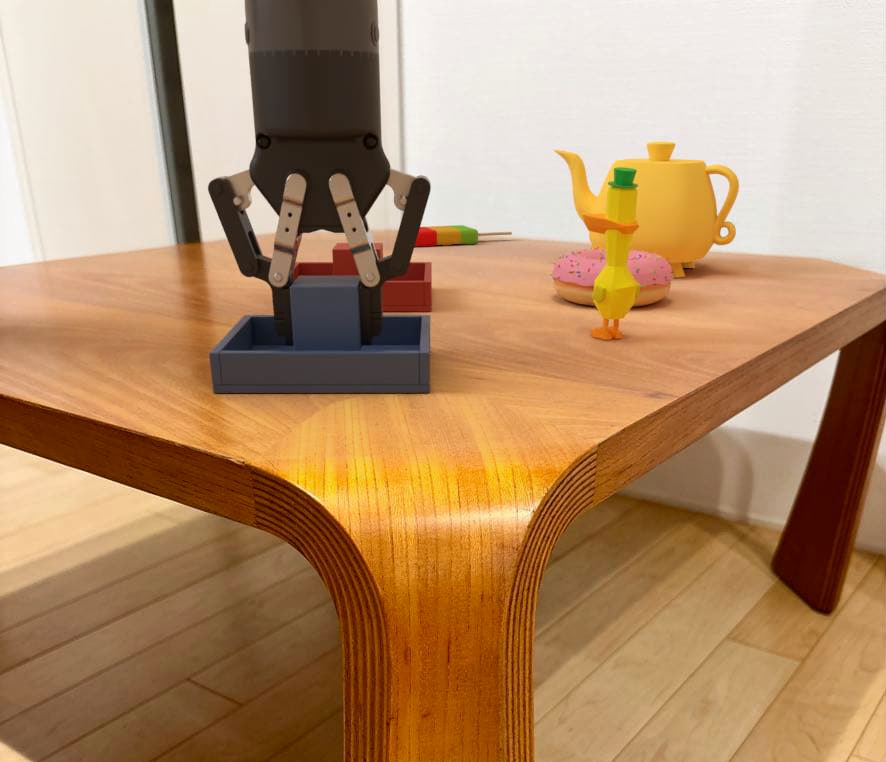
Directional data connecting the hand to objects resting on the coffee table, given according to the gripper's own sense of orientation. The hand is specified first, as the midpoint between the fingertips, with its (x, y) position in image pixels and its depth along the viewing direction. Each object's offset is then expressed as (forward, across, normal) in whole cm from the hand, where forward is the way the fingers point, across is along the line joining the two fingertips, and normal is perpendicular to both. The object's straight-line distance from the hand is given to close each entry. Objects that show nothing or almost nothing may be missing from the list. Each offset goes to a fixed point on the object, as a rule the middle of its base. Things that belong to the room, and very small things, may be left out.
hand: (329, 341), depth 60 cm
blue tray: (+2, 0, 0) cm, 2 cm away
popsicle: (+2, -10, -65) cm, 66 cm away
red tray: (+2, 0, -25) cm, 25 cm away
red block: (+1, 0, -25) cm, 25 cm away
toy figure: (+2, -20, -10) cm, 22 cm away
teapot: (+2, -29, -43) cm, 52 cm away
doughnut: (+2, -23, -25) cm, 34 cm away
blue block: (0, 0, 0) cm, 0 cm away
